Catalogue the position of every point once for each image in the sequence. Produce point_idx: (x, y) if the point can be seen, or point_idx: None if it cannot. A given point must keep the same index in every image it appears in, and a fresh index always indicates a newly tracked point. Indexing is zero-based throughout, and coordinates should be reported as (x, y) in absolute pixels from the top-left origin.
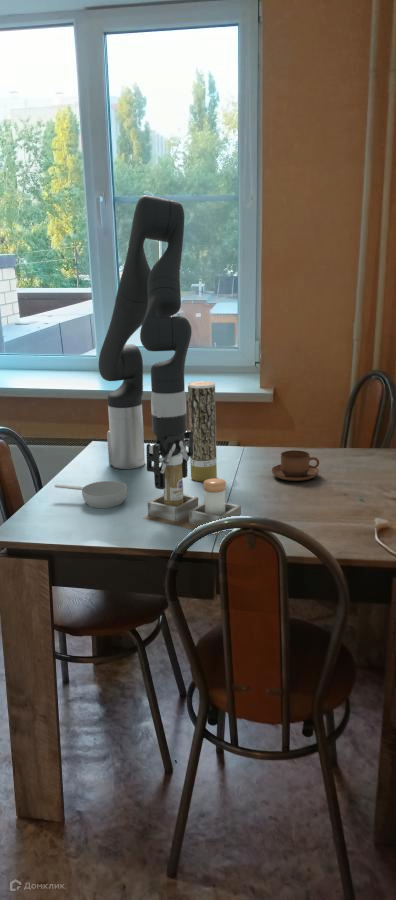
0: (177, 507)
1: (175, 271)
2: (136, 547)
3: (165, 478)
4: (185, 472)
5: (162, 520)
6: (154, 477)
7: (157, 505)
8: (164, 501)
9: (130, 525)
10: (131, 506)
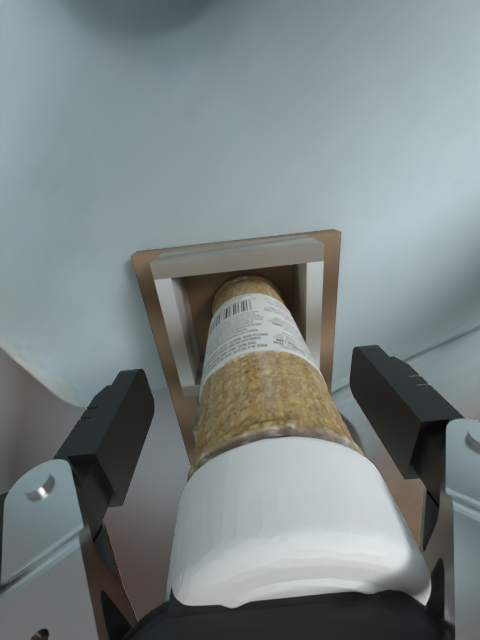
0: (193, 389)
1: None
2: (15, 359)
3: (199, 400)
4: (365, 413)
5: (164, 326)
6: (67, 439)
7: (164, 315)
8: (218, 305)
9: (89, 227)
10: (231, 47)
